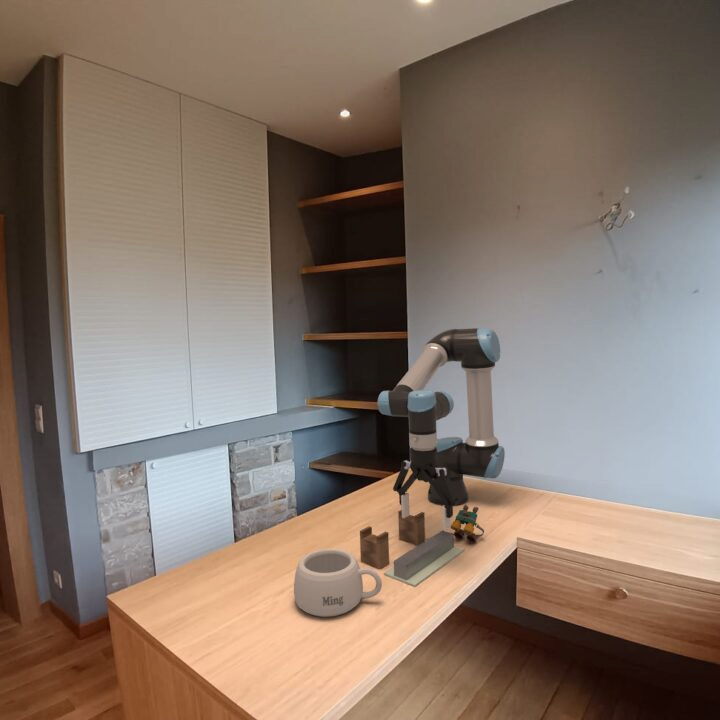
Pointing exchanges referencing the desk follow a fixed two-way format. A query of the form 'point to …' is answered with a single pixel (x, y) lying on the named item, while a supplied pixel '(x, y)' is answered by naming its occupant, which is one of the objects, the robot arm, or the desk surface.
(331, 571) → the mug
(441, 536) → the rail
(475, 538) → the binoculars
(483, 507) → the desk surface
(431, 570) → the mat
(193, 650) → the desk surface
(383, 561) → the rack
